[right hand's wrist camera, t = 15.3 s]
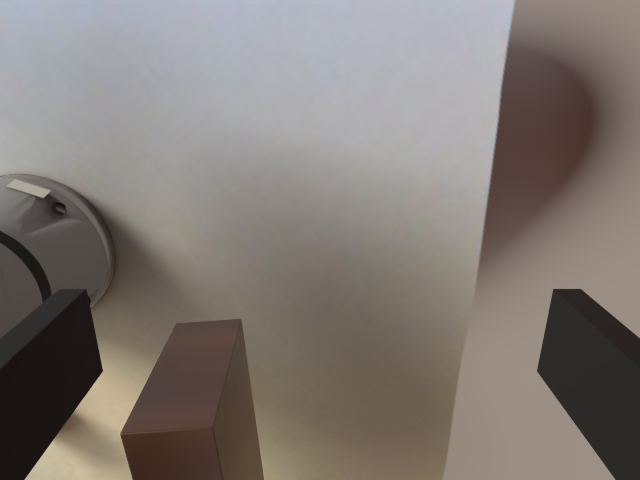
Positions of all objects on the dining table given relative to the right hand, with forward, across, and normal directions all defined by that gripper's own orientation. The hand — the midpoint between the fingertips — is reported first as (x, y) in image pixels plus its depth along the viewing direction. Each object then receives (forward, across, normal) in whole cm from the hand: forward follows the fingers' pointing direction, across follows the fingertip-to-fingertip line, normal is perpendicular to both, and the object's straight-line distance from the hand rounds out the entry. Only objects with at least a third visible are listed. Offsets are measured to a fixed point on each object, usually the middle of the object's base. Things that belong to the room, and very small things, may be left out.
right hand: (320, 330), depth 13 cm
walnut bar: (+13, -6, -19) cm, 24 cm away
